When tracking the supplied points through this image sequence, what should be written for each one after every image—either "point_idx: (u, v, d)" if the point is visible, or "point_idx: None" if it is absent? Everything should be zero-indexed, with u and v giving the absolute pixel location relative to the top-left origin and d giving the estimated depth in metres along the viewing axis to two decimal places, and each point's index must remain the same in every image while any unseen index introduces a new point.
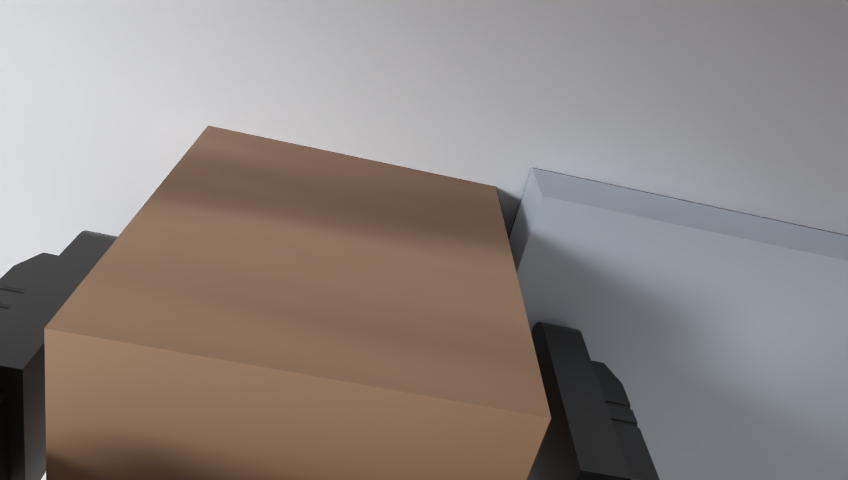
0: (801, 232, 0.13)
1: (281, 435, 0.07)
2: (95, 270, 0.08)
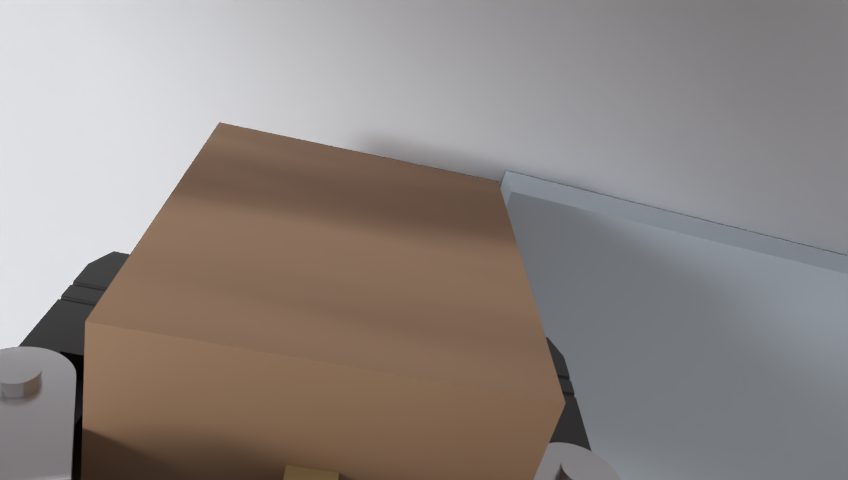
0: (720, 229, 0.16)
1: (309, 422, 0.08)
2: (126, 265, 0.08)
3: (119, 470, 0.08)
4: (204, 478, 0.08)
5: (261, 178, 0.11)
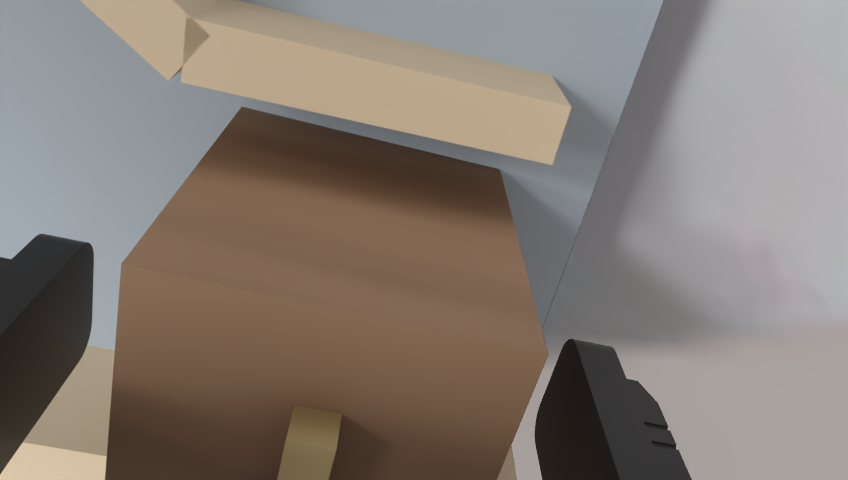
0: None
1: (316, 365, 0.09)
2: (156, 221, 0.09)
3: (144, 405, 0.09)
4: (220, 415, 0.09)
5: (279, 155, 0.12)
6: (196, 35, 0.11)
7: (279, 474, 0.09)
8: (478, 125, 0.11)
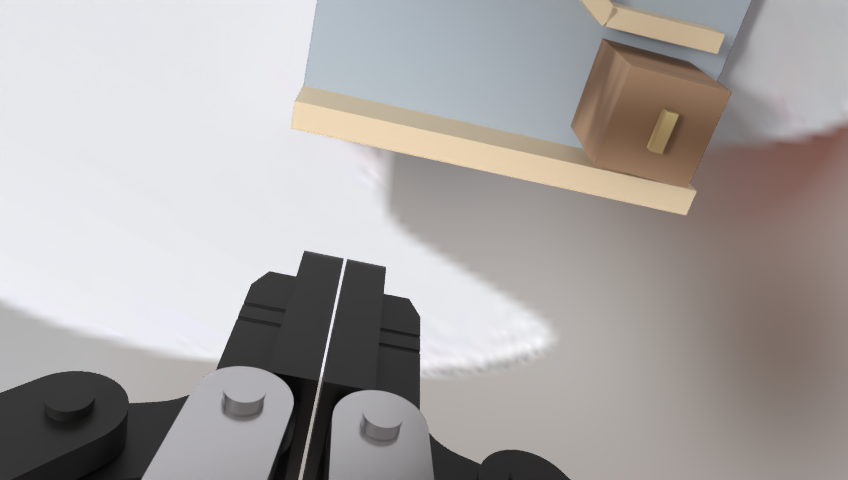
0: None
1: (671, 95, 0.34)
2: (624, 60, 0.34)
3: (623, 107, 0.34)
4: (643, 111, 0.34)
5: (629, 51, 0.37)
6: (614, 11, 0.36)
7: (662, 122, 0.34)
8: (695, 40, 0.36)
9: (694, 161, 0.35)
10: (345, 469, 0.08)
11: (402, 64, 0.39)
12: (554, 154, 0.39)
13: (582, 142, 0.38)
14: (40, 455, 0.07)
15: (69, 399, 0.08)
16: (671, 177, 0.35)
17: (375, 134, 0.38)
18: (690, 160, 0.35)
